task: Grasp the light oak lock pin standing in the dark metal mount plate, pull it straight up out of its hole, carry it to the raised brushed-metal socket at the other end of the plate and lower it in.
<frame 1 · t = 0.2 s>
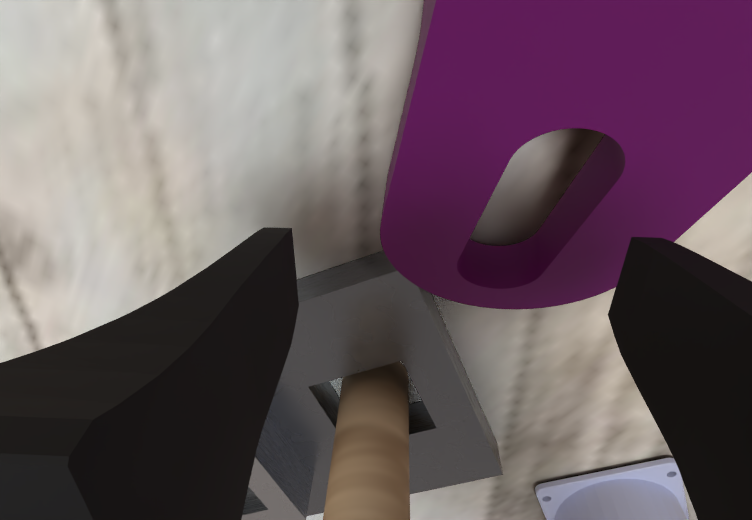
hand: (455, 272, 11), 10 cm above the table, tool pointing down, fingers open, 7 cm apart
mount plate: (299, 399, 28), on the table
pin: (375, 378, 27), resting in mount plate
mounting bracket: (538, 69, 19), on the table, touching mount plate
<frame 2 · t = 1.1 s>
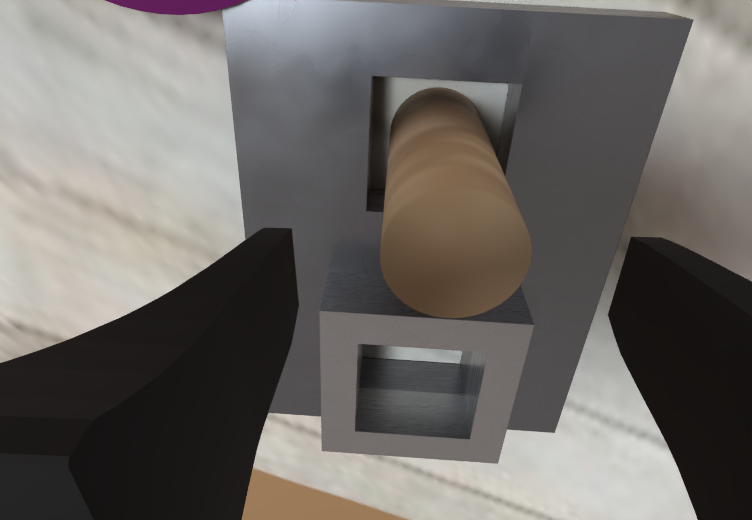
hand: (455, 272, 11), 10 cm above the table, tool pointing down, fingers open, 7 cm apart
mount plate: (424, 238, 22), on the table
pin: (435, 134, 19), resting in mount plate
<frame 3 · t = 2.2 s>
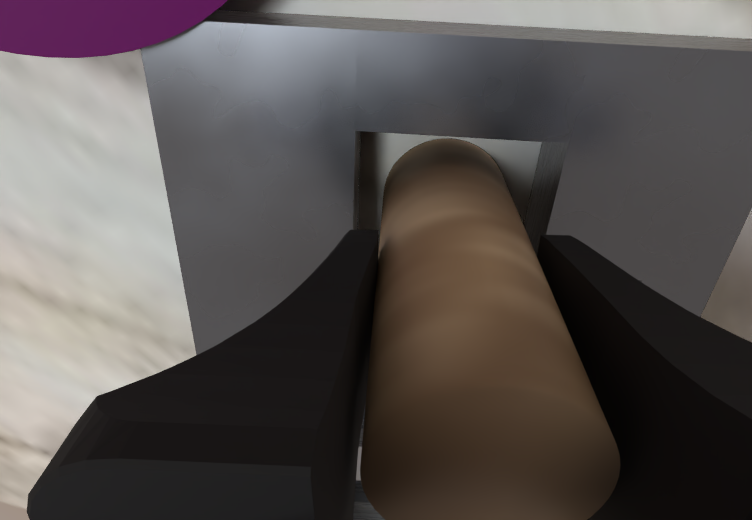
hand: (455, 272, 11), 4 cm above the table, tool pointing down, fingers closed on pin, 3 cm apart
mount plate: (428, 322, 17), on the table
pin: (443, 197, 15), resting in mount plate, touching gripper
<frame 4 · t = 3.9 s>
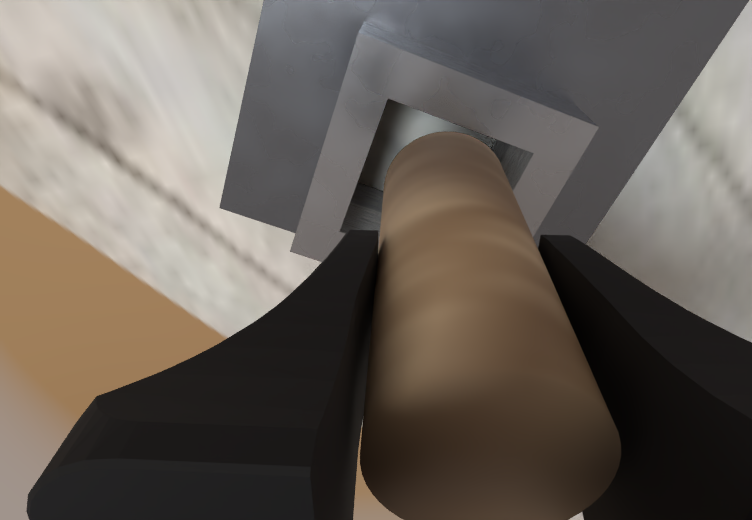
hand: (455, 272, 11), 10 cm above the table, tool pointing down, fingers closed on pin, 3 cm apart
mount plate: (475, 33, 18), on the table
pin: (444, 190, 15), point 6 cm above the table, touching gripper
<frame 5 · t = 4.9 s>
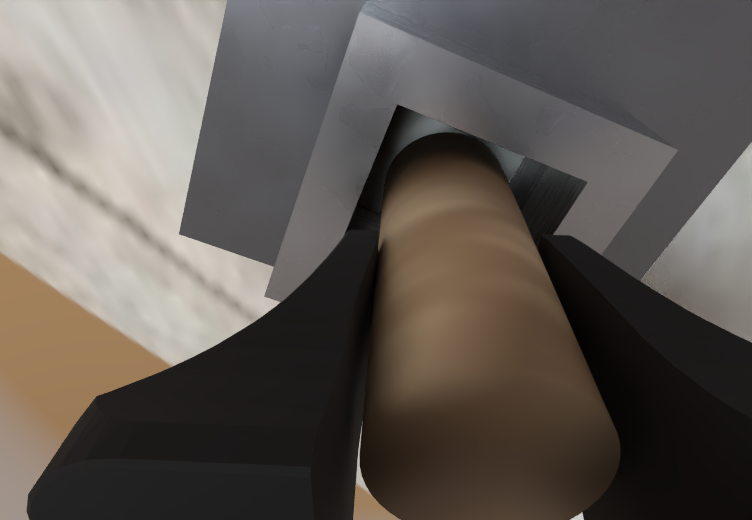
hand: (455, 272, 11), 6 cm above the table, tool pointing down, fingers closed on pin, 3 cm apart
mount plate: (507, 23, 14), on the table
pin: (443, 191, 15), point 2 cm above the table, touching gripper
when the fingers open (5 cm above the table, at t = 5.5 s): pin drops 1 cm, resting in mount plate.
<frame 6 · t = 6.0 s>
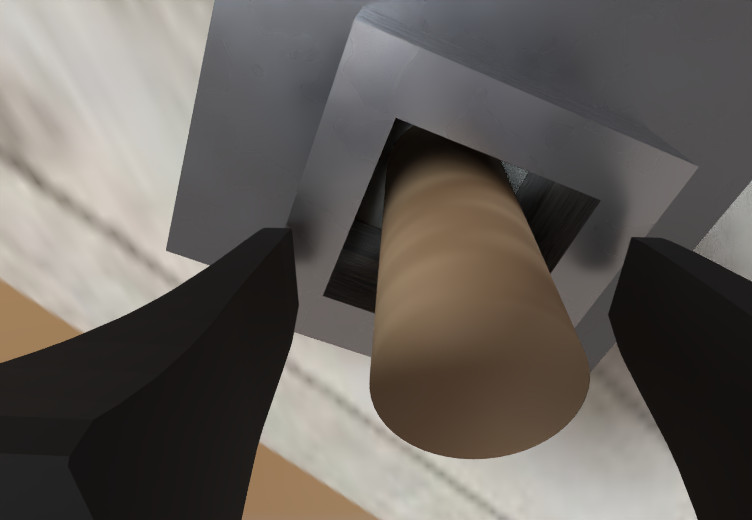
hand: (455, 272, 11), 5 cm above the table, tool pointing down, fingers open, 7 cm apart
mount plate: (512, 29, 14), on the table
pin: (442, 172, 16), resting in mount plate
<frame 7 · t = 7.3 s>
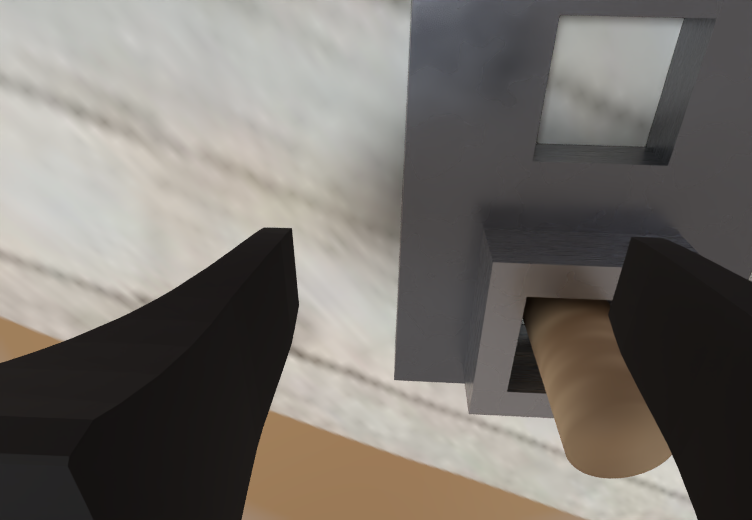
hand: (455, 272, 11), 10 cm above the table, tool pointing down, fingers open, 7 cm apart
mount plate: (571, 194, 21), on the table
pin: (551, 281, 24), resting in mount plate
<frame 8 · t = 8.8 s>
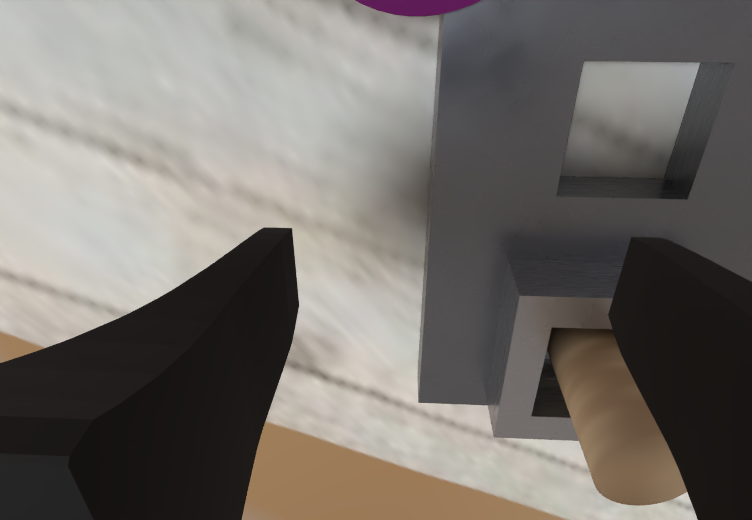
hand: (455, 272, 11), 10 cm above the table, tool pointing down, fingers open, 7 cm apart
mount plate: (592, 223, 22), on the table
pin: (570, 305, 24), resting in mount plate
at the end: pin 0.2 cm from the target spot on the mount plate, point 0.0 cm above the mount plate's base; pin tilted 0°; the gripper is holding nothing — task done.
